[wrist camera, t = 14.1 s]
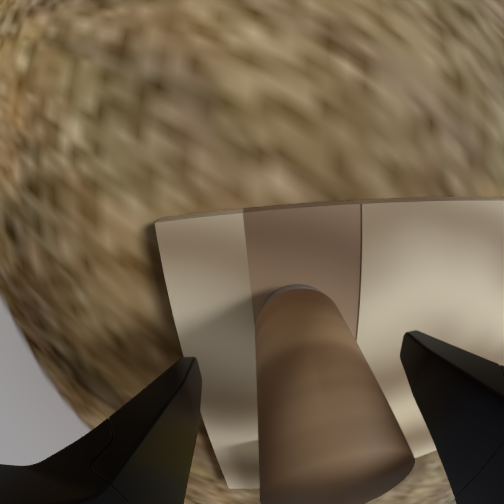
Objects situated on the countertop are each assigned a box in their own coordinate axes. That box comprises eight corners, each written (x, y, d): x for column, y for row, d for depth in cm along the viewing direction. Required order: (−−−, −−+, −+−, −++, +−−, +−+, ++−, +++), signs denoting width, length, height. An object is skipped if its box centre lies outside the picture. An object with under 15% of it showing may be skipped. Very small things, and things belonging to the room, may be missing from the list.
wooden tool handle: (333, 343, 11) (392, 497, 4) (258, 352, 11) (265, 521, 4) (335, 274, 10) (436, 429, 3) (250, 283, 10) (252, 468, 3)
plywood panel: (465, 426, 15) (470, 434, 14) (229, 477, 16) (229, 488, 15) (533, 198, 10) (545, 201, 9) (163, 217, 10) (154, 222, 9)
